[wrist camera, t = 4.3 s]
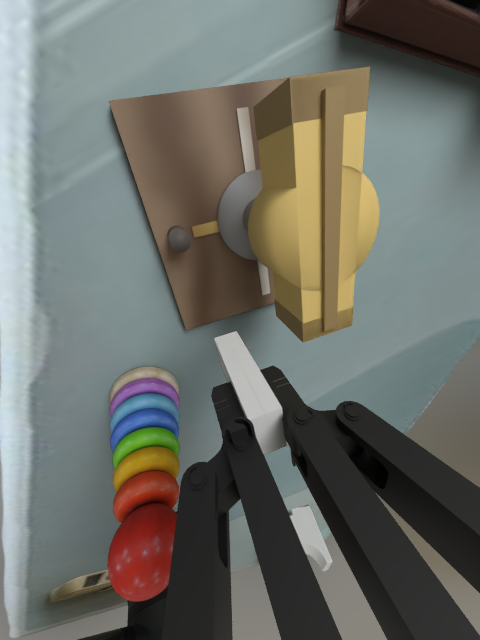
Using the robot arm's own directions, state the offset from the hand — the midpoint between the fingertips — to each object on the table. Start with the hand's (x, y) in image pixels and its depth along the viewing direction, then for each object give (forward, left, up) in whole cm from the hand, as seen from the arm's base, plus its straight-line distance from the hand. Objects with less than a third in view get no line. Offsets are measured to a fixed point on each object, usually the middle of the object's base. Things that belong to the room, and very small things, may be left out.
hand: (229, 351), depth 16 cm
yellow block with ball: (+7, +6, -4) cm, 10 cm away
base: (+7, +6, -13) cm, 16 cm away
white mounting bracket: (+4, -68, -13) cm, 70 cm away
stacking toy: (-10, -11, -13) cm, 20 cm away
